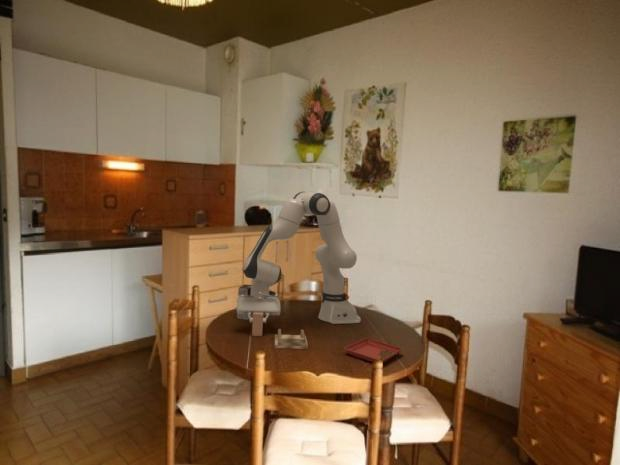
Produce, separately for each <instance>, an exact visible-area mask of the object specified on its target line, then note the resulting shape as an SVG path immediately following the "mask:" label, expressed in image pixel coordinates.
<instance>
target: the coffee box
mask: <svg viewBox="0 0 620 465" xmlns="http://www.w3.org/2000/svg"><path fill="white" fill-rule="evenodd" d="M251 287H252V284H243V285H240V286H239V287H238V293H237V294H238V295H237V298H238V297H239V296H241V295H250V293H251ZM251 318H253V314H251ZM236 319H238V320H239V319H240V320H245V321H250V319H249V317H248V314H238V313H237V312H236Z"/></svg>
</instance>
